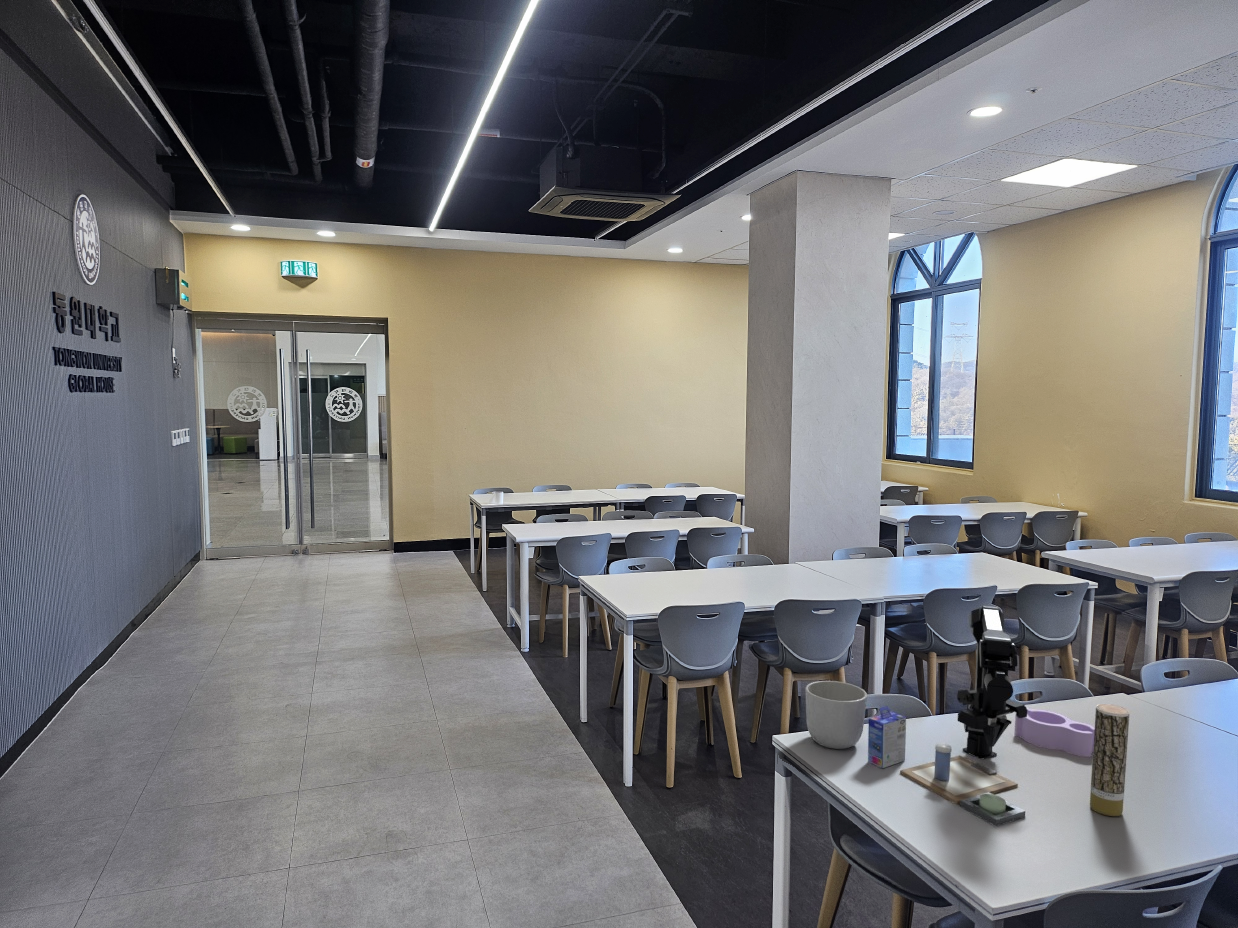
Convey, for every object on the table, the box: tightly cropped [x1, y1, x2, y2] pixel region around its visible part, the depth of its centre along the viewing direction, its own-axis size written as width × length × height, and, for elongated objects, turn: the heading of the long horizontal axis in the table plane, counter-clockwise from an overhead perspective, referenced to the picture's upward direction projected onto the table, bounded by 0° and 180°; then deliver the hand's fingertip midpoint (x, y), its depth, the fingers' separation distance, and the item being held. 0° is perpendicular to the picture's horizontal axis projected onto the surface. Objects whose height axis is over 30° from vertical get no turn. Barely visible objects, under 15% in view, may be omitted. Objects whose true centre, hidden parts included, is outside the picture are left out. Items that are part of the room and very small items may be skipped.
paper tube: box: [1089, 703, 1130, 817], centre depth 190 cm, size 7×7×25 cm
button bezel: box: [959, 792, 1026, 827], centre depth 189 cm, size 10×10×2 cm
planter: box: [805, 680, 868, 750], centre depth 226 cm, size 17×17×15 cm
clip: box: [1014, 706, 1095, 758], centre depth 230 cm, size 20×12×7 cm, turn 42°
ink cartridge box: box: [867, 705, 907, 769], centre depth 215 cm, size 10×6×14 cm, turn 124°
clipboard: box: [899, 755, 1019, 805], centre depth 205 cm, size 22×18×1 cm
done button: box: [978, 794, 1007, 815], centre depth 189 cm, size 6×6×2 cm
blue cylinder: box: [934, 742, 952, 781], centre depth 204 cm, size 4×4×9 cm
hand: (990, 746), depth 200 cm, fingers closed
